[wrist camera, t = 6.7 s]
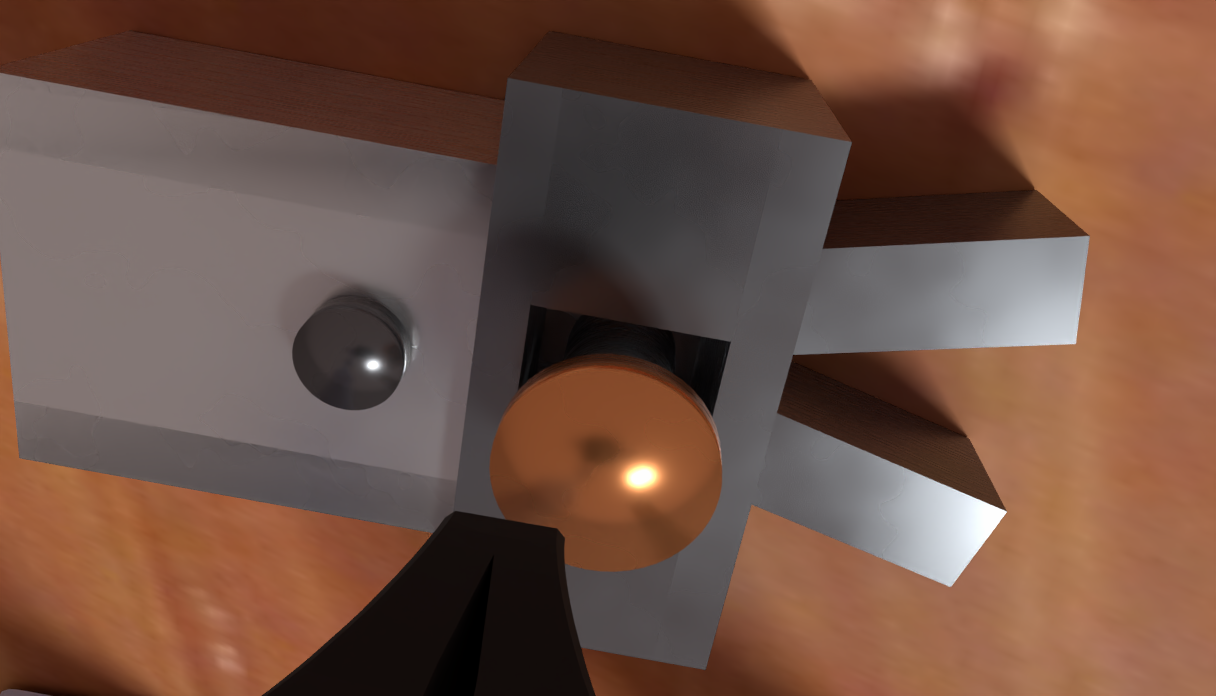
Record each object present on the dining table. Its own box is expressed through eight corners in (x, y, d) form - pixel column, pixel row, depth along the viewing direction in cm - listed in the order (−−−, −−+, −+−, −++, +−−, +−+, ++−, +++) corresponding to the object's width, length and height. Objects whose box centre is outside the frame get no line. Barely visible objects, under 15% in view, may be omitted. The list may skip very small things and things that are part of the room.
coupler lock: (139, 352, 22) (-2, 475, 18) (129, 30, 19) (-42, 76, 15) (494, 417, 22) (446, 556, 18) (538, 106, 20) (494, 176, 15)
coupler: (292, 441, 23) (197, 578, 19) (312, -14, 19) (195, 19, 14) (925, 556, 23) (983, 720, 19) (1085, 131, 19) (1211, 209, 14)
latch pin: (519, 412, 19) (477, 549, 15) (543, 247, 18) (505, 351, 14) (692, 444, 19) (695, 589, 15) (731, 282, 18) (745, 396, 14)
